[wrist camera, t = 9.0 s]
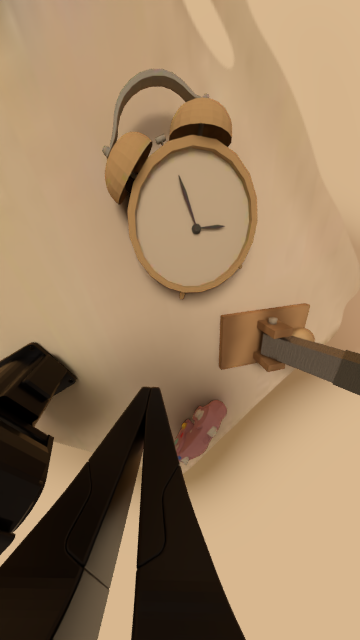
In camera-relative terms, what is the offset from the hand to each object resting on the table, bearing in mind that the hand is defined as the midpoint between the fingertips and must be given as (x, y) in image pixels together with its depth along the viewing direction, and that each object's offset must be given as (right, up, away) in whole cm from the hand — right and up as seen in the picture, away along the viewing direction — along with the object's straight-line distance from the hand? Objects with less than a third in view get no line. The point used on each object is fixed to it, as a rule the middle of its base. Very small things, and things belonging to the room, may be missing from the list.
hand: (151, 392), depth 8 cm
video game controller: (+4, -12, +20) cm, 23 cm away
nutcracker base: (+13, +1, +16) cm, 20 cm away
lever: (+13, +1, +14) cm, 19 cm away
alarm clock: (+1, +14, +8) cm, 16 cm away
